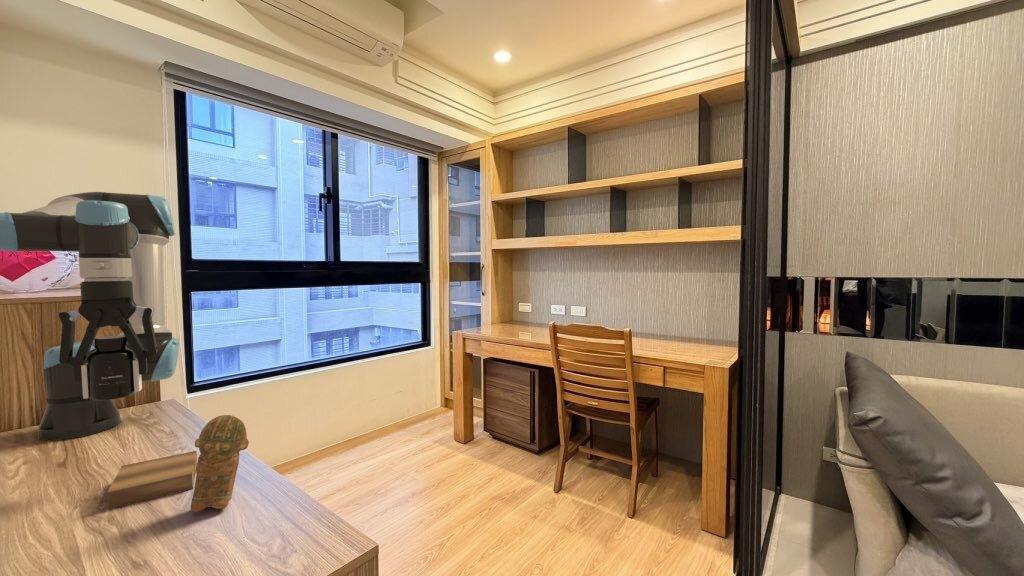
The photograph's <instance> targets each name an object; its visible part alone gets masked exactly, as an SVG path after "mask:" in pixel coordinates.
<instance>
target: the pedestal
mask: <svg viewBox="0 0 1024 576" xmlns="http://www.w3.org/2000/svg"><path fill="white" fill-rule="evenodd" d="M197 452H198V451H197V450H194V451H188V452H184V453H179V454H173V455H167V456H165V457H159V458H154V459H149V460H144V461H139V462H134V463H129V464H125V465H124V464H123V465H121V467H120V469H119V471H118V472H117V474H116V476H115V478H114V480H113V481H112V483H111V484H110V487H109V489H108V490H107V492H106V494H107V495H106V496H107V497H106V499H107V509H108V510H110V509H113V508H117V507H121V506H126V505H131V504H134V503H138V502H139V503H140V502H143V501H147V500H151V499H155V498H159V497H163V496H168V495H172V494H176V493H181V492H184V491H188V490H192V489H194V486H195V484H194V483H195V480H196V467H197V462H198V457H197V454H198V453H197Z"/></svg>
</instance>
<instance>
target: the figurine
mask: <svg viewBox="0 0 1024 576" xmlns="http://www.w3.org/2000/svg"><path fill="white" fill-rule="evenodd" d="M249 442H250V441H249V439H248V435H247V429H246V425H245V423H244V422H243V421H242V420H241V419H240V418H238V417H237V416H234V415H230V414H222V415H218V416H216V417H214V418H212V419H210V420H209V421H208V422H207V423H206V424H205V425H204V427H203V428H202V430H201V431H200V435H199V436H198V438H197V439H196V440H195V442H194V447H195V448H197V449H198V451H199V456H198V457H197V467H196V474H195V481H194V483H195V484H194V488H193V489H194V490H193V494H192V498H191V503H190V510H191V511H192V512H195V513H196V512H201V511H203V510H205V509H206V508H209V507H210V508H211V507H212V508H214V509H217V510H219V509H224V508H226V507H227V506H228V504H229V503H230V501H231V500H232V496H233V491H234V486H235V481H236V477H237V472H238V468H239V464H240V452H241V451H244V450H246V449H247V448H248V447H249Z"/></svg>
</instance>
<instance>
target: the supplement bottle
mask: <svg viewBox="0 0 1024 576" xmlns="http://www.w3.org/2000/svg"><path fill="white" fill-rule="evenodd" d="M94 343H95V345H94V348H96V351H95V352H93V353H91V354H90V355H89V357H88V374H89V396H90V398H91V399H92V400H111V399H112V400H116V399H117V400H118V399H121V398H126V397H129V396H132V395H134V394H135V392H134V374H133V360H134V359H135V356H134V352H133V351H132V350H131V349H128V348H126V345H128V342H127V338H126V337H125V336H118V335H110V336H100V337H95V339H94Z"/></svg>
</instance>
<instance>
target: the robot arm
mask: <svg viewBox="0 0 1024 576" xmlns="http://www.w3.org/2000/svg"><path fill="white" fill-rule="evenodd" d="M170 207H171V206H170V203H169V201H168V199H166V197H163V196H159V195H149V194H148V193H147V194H139V193H138V194H137V193H136V194H135V193H122V192H121V193H118V192H105V191H90V192H87V191H86V192H79V193H72V194H67V195H63V196H60V197H59V196H58V197H56V198H54V199H52V200H51V201H50V202H48V204H46V205H44V206H42V207H38V208H35V209H31V210H28V211H26V212H25V211H24V212H22V213H21V212H17V213H16V212H9V211H4V212H0V251H3V252H12V253H17V252H73V253H74V252H75V253H76V252H77V253H78V267H79V268H78V269H79V278H81V279H83V280H84V281H81V283H79V286H80V287H79V288H80V300H81V303H80V306H79V307H78V308H77V309H74V310H70V311H69V310H66V311H65V310H64V311H61V312H59V314H58V317H59V319H60V323H61V324H62V326H61V337H60V345H57V346H53V347H51V348H49V349H47V350H46V351H45V353H44V355H43V366H42V370H43V373H44V385H45V398H46V407H45V410H44V413H43V414H42V415H43V416H42V418H41V421H40V424H39V426H38V429H37V432H38V433H37V434H38V439H39V440H41V441H61V440H70V439H76V438H81V437H85V436H89V435H93V434H97V433H100V432H102V431H107V430H110V429H112V428H114V427H115V426H117V425H119V424H120V422H121V413H120V411H119V409H118V407H117V405H116V404H115V402H114V399H111V400H92V399H91V398H90V396H89V374H88V357H89V355H90V354H91V353H93V352H95V351H96V348H94V345H95V343H94V339H95V338H97V335H98V333H99V330H100V328H105V327H119V329H120V330H121V332H120V333H119V334H118V335H117V336H125V337H126V338H127V342H128V345H126V348H128V349H131V350H132V351H133V352H134V356H135V359H134V360H133V374H134V393H138V392H141V390H142V389H143V383H147V382H148V383H149V382H152V383H153V382H156V381H161V380H162V381H163V380H168V379H171V378H172V376H174V374H175V372H176V367H177V364H178V359H179V358H178V357H179V351H180V350H179V348H180V347H179V346H180V345H179V344H180V340H179V338H178V337H175V336H174V337H173V331H172V330H170V329H169V328H167V326H166V314H165V313H166V312H165V309H166V307H165V285H164V284H165V280H164V246H166V245H168V243H169V242H170V237H172V236H175V235H176V229H175V223H174V219H173V216H172V210H171V208H170ZM80 315H81V316H82V317H83V318H84V319H85V320H86V321H87V322H88V323H87V326H86V328H85V332H84V335H83V337H82V339H81V340H79V341H75V332H76V321H78V319H79V316H80Z"/></svg>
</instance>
